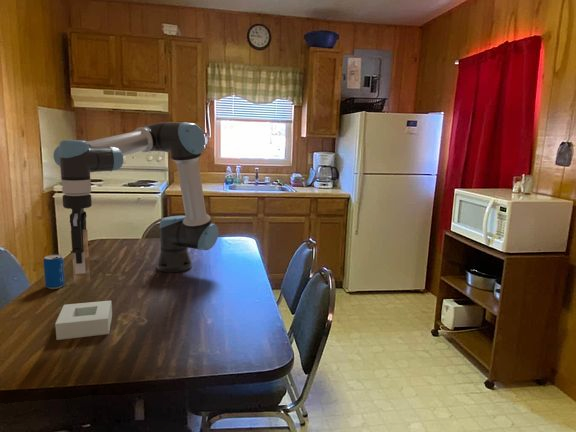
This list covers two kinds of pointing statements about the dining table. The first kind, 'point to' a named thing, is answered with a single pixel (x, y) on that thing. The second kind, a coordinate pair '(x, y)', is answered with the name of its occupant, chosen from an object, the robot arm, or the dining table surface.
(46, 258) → the beverage can
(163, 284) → the dining table surface
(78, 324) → the socket block
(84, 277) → the oak peg
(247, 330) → the dining table surface
